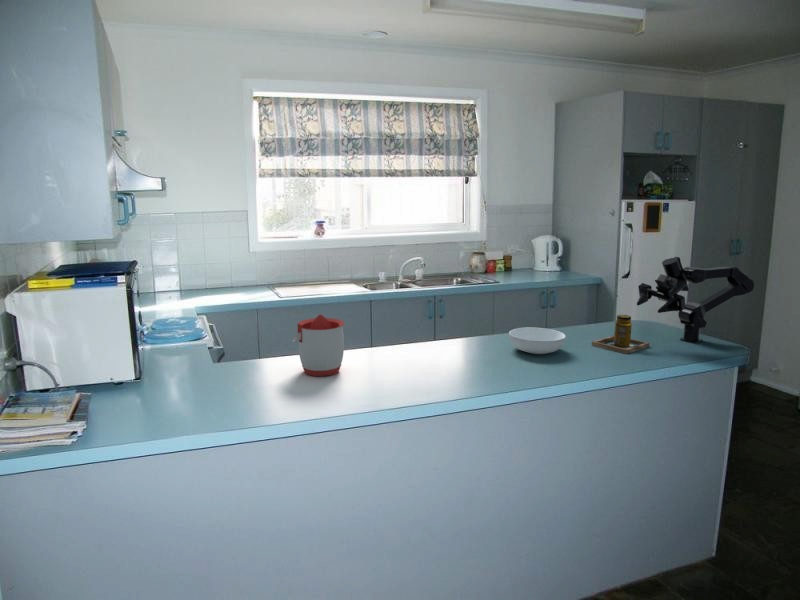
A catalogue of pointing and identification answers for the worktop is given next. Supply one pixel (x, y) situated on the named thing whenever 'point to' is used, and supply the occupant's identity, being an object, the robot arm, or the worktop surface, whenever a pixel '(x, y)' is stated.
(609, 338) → the walnut frame
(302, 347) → the citrus juicer
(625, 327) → the condiment
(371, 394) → the worktop surface
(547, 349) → the serving bowl
